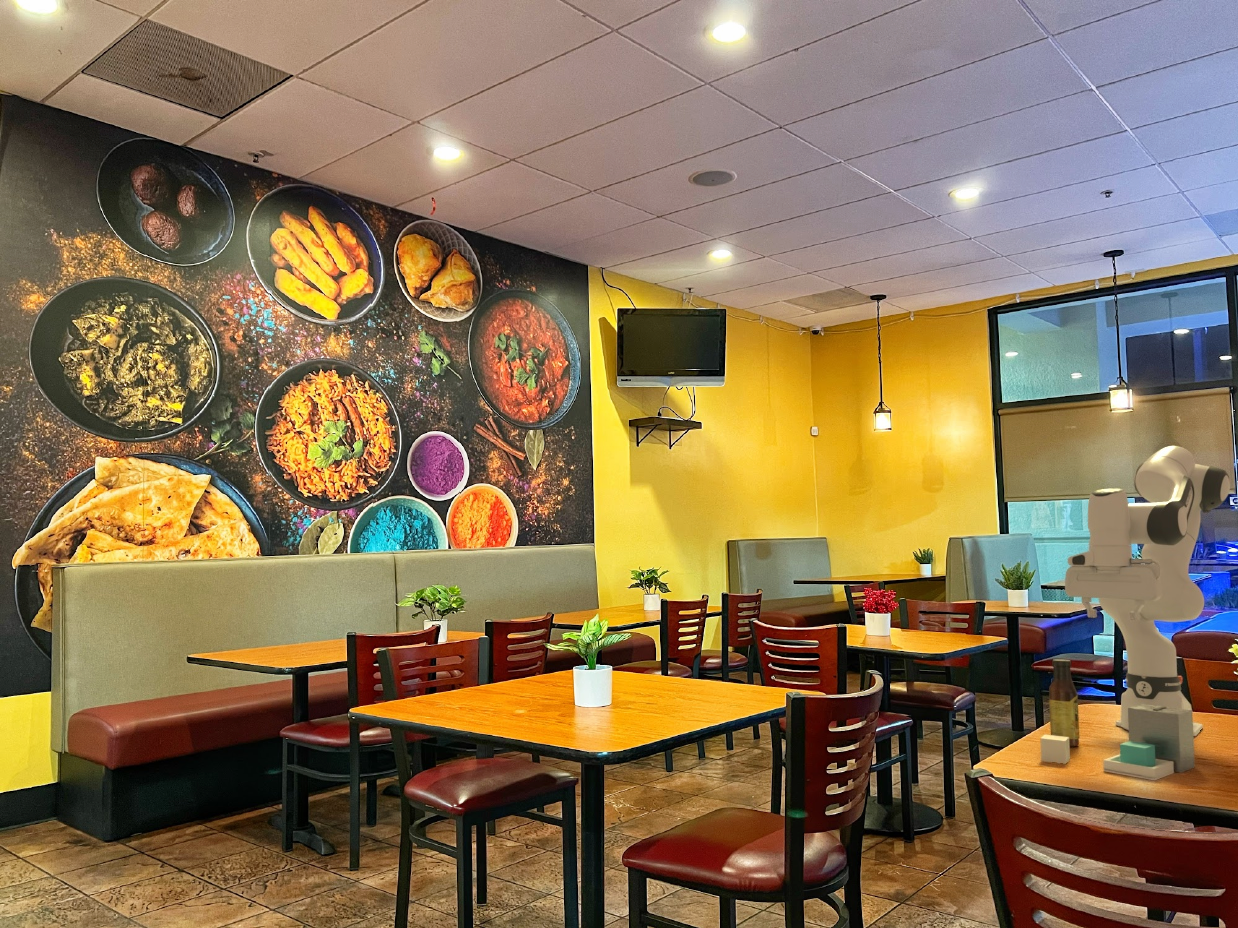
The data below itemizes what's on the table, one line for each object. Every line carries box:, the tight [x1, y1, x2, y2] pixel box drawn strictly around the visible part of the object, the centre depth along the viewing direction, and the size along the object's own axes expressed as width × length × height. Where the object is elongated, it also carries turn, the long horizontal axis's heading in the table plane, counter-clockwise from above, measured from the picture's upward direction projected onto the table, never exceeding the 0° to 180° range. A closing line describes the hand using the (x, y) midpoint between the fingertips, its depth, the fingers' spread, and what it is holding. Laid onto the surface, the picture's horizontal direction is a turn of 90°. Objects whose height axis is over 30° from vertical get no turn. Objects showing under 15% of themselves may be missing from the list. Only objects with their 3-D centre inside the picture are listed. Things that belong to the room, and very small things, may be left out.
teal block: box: [1119, 740, 1156, 767], centre depth 197 cm, size 5×5×5 cm
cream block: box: [1040, 734, 1071, 765], centre depth 207 cm, size 5×5×5 cm
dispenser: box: [1128, 704, 1196, 774], centre depth 203 cm, size 8×10×12 cm
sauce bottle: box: [1048, 658, 1081, 748], centre depth 224 cm, size 7×6×20 cm
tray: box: [1102, 753, 1175, 781], centre depth 197 cm, size 10×10×2 cm
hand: (1113, 618), depth 216 cm, fingers open, 8 cm apart
